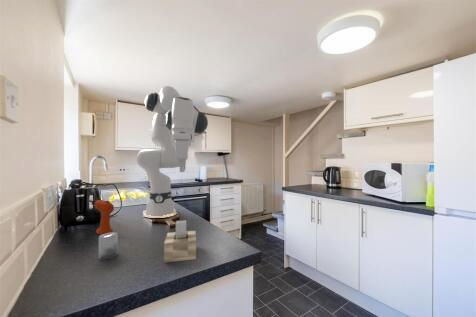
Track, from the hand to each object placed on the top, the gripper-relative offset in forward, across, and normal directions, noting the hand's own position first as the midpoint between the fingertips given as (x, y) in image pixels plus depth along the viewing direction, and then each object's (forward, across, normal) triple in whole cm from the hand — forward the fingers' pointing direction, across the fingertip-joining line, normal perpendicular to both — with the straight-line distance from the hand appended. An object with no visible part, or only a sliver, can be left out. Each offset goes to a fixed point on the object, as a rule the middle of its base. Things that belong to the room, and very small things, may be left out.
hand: (182, 171), depth 82 cm
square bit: (+27, +12, 0) cm, 30 cm away
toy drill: (+29, -20, -38) cm, 51 cm away
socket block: (+28, +12, 0) cm, 31 cm away
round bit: (+28, +8, -24) cm, 38 cm away
